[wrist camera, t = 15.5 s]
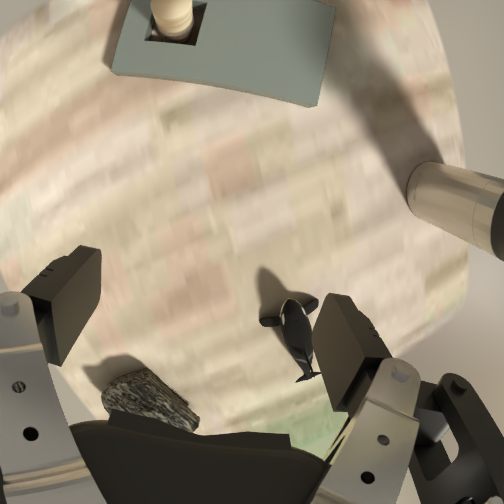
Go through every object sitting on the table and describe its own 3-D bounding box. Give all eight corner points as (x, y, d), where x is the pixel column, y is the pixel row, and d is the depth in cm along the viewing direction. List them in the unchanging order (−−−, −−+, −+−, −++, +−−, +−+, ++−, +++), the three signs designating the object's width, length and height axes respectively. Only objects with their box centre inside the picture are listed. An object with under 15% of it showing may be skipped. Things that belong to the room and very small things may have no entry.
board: (327, 15, 32) (336, 8, 29) (308, 107, 37) (317, 105, 34) (145, -20, 27) (142, -29, 24) (117, 75, 32) (110, 71, 29)
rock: (206, 435, 46) (204, 409, 52) (138, 382, 40) (143, 355, 46) (155, 456, 47) (156, 431, 52) (88, 408, 41) (95, 383, 46)
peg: (197, 17, 30) (198, -13, 22) (189, 46, 32) (187, 22, 24) (163, 13, 30) (155, -17, 21) (155, 43, 31) (143, 18, 23)
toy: (247, 294, 43) (265, 351, 35) (315, 270, 44) (345, 321, 35) (276, 373, 56) (292, 419, 48) (327, 354, 56) (348, 398, 48)
